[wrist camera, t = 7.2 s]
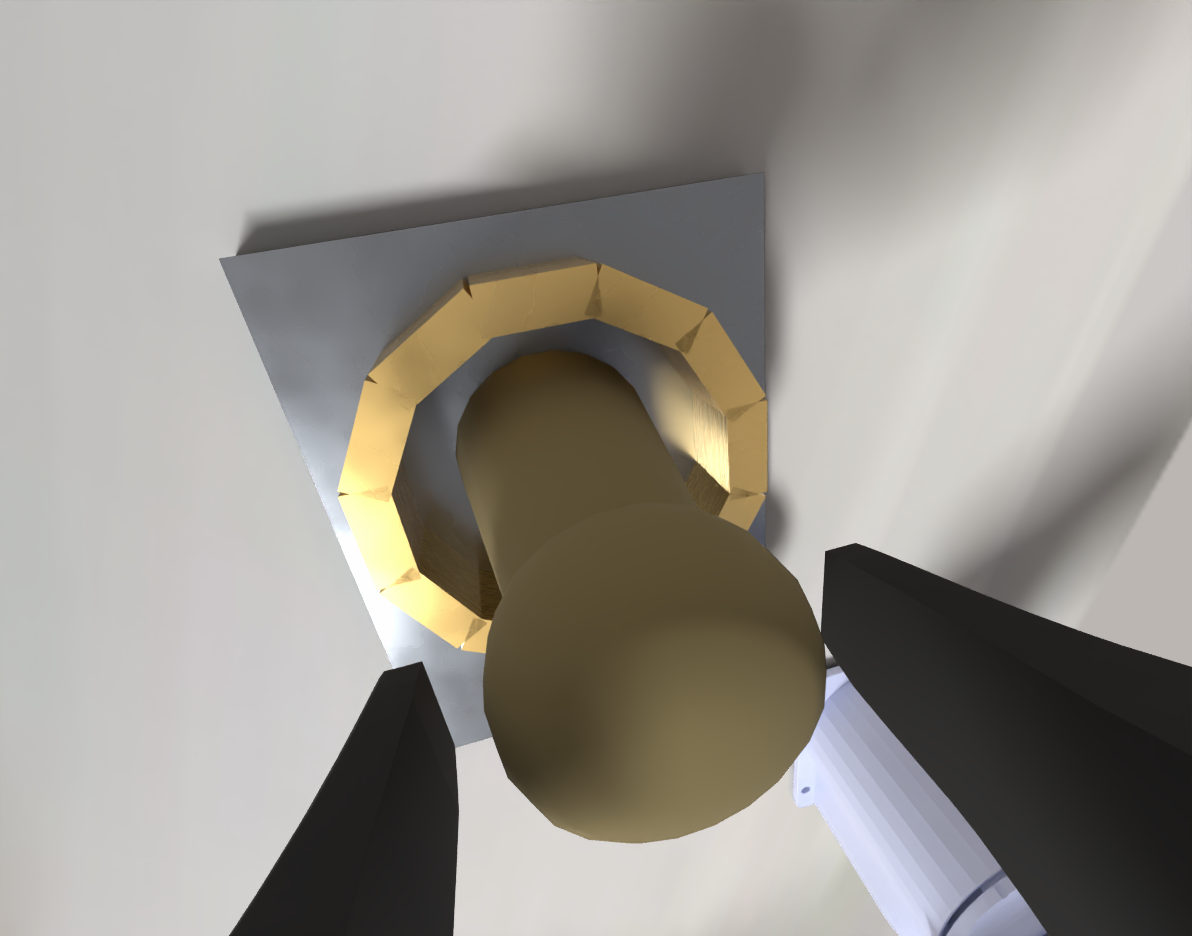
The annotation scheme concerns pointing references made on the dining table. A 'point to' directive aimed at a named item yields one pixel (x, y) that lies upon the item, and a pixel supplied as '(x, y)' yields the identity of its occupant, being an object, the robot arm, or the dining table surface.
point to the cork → (626, 615)
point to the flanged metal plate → (487, 343)
